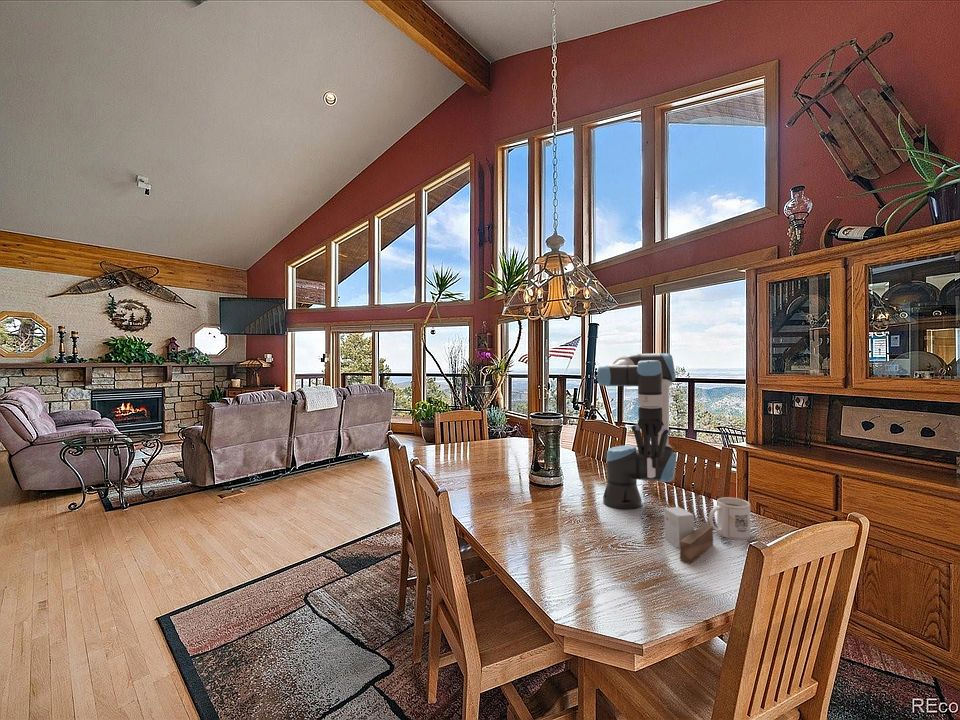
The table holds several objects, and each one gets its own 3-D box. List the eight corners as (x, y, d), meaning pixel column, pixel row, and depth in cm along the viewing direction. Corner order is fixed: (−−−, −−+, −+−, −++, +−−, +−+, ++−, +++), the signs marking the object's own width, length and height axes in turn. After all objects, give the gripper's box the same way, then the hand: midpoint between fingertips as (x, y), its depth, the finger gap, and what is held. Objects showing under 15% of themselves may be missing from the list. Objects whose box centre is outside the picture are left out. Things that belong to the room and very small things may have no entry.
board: (680, 561, 134) (680, 541, 134) (703, 542, 146) (702, 524, 146) (690, 564, 132) (690, 544, 132) (713, 545, 144) (712, 526, 144)
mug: (750, 543, 145) (749, 509, 145) (708, 536, 151) (708, 503, 151) (750, 531, 154) (750, 499, 154) (711, 525, 160) (711, 494, 160)
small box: (695, 547, 143) (694, 514, 143) (679, 549, 142) (678, 516, 142) (679, 537, 151) (679, 506, 151) (664, 539, 150) (663, 507, 150)
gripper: (626, 406, 152) (627, 475, 153) (664, 409, 142) (665, 483, 143) (637, 404, 157) (638, 471, 158) (674, 406, 148) (675, 478, 148)
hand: (651, 476), depth 150 cm, fingers closed
